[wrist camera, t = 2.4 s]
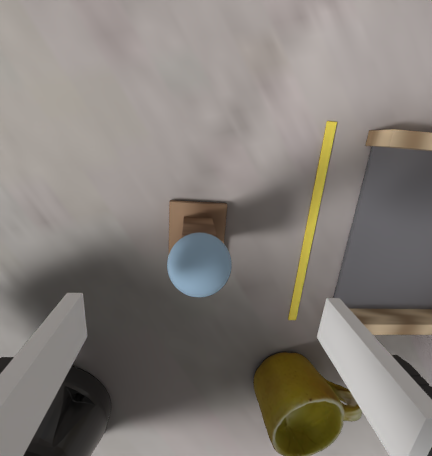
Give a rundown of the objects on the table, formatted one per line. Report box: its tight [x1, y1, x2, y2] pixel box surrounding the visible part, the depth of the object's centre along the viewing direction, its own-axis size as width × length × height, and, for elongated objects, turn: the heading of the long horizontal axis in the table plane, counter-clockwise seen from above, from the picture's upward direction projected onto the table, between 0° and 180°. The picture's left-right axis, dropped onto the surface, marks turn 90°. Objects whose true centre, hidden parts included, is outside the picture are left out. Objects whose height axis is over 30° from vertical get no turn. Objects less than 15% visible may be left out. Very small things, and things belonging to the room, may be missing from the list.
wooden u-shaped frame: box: [350, 129, 432, 335], centre depth 30 cm, size 18×23×4 cm
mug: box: [253, 352, 362, 456], centre depth 33 cm, size 12×10×10 cm
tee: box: [169, 200, 227, 253], centre depth 25 cm, size 6×6×6 cm
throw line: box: [288, 121, 337, 320], centre depth 30 cm, size 1×24×1 cm, turn 176°
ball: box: [167, 233, 231, 297], centre depth 20 cm, size 5×5×5 cm
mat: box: [334, 146, 432, 309], centre depth 31 cm, size 16×20×1 cm
